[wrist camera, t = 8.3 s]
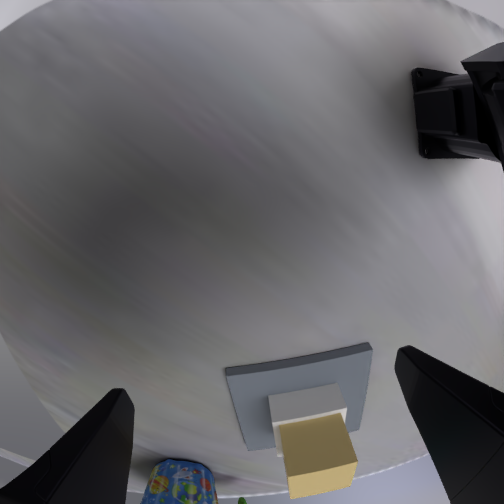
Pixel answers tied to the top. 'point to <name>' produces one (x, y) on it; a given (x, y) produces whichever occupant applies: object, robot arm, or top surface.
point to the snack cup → (181, 484)
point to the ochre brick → (317, 455)
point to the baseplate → (297, 387)
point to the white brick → (304, 407)
